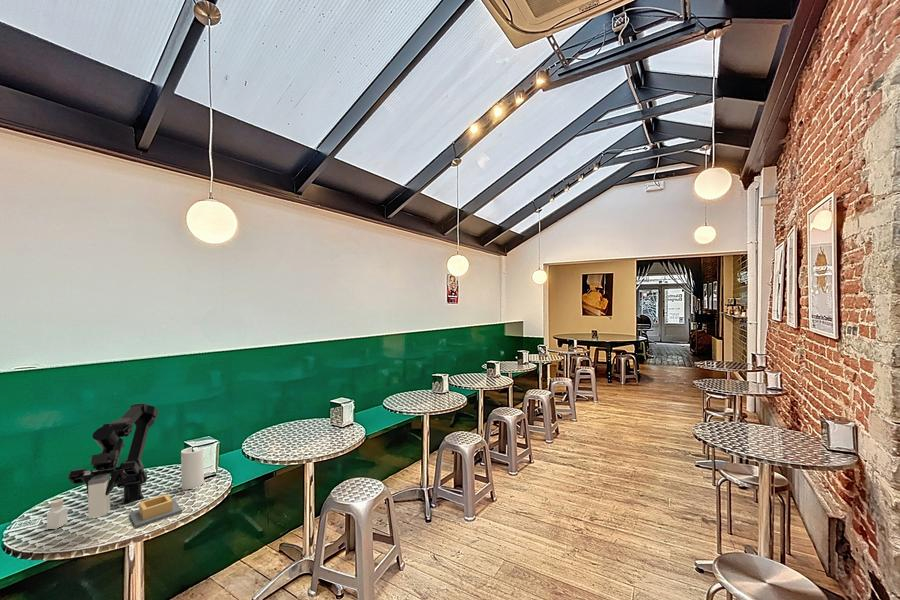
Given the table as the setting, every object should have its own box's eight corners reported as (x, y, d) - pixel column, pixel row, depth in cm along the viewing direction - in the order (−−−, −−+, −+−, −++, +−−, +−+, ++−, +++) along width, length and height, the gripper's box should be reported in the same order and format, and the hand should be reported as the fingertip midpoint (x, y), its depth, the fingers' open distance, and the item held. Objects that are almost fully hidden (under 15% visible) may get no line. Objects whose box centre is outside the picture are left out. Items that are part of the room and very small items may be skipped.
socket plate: (129, 514, 147) (129, 503, 147) (173, 500, 157) (173, 489, 157) (135, 528, 137) (135, 515, 137) (182, 512, 147) (182, 500, 147)
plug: (94, 512, 136) (94, 476, 136) (110, 509, 137) (109, 474, 138) (88, 518, 132) (88, 481, 132) (104, 515, 133) (104, 478, 134)
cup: (208, 482, 173) (207, 446, 173) (190, 491, 165) (190, 453, 165) (195, 480, 175) (194, 445, 176) (177, 488, 168) (176, 451, 168)
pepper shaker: (68, 523, 142) (68, 497, 142) (57, 530, 138) (57, 503, 138) (57, 524, 142) (56, 498, 142) (46, 530, 138) (45, 503, 138)
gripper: (70, 447, 135) (52, 492, 125) (135, 438, 142) (124, 481, 132) (81, 462, 142) (65, 506, 132) (143, 453, 149) (133, 494, 139)
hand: (97, 496), depth 133 cm, fingers closed on plug, 4 cm apart
